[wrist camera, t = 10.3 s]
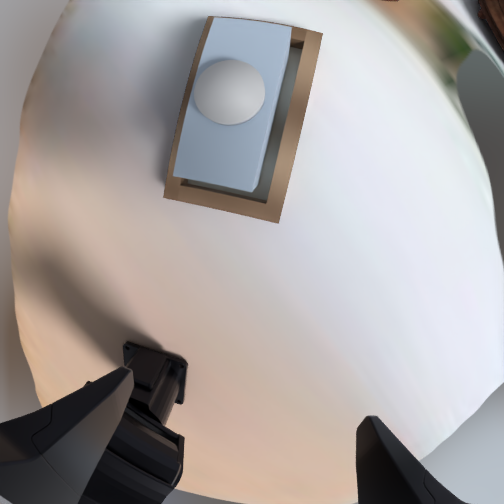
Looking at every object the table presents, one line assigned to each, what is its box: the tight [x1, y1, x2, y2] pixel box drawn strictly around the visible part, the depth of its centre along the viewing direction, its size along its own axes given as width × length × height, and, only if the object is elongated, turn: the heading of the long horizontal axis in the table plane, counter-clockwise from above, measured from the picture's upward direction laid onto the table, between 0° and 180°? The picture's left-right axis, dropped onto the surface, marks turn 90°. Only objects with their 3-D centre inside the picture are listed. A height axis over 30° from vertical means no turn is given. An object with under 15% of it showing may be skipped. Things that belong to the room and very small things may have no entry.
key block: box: [173, 17, 292, 192], centre depth 13 cm, size 4×9×6 cm, turn 168°
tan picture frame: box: [163, 16, 323, 223], centre depth 15 cm, size 13×8×2 cm, turn 168°
